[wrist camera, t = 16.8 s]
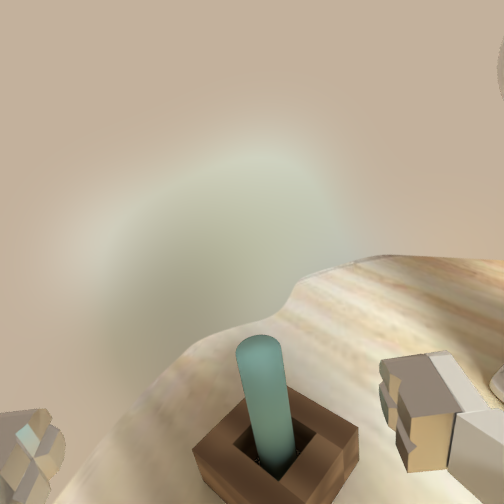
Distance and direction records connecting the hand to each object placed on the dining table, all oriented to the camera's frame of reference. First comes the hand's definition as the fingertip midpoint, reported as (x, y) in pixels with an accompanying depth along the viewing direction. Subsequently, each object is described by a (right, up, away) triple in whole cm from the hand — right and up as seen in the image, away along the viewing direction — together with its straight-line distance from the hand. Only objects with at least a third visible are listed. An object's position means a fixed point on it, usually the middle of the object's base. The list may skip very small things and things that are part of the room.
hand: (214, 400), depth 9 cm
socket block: (+4, -18, +28) cm, 33 cm away
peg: (+4, -18, +28) cm, 33 cm away
